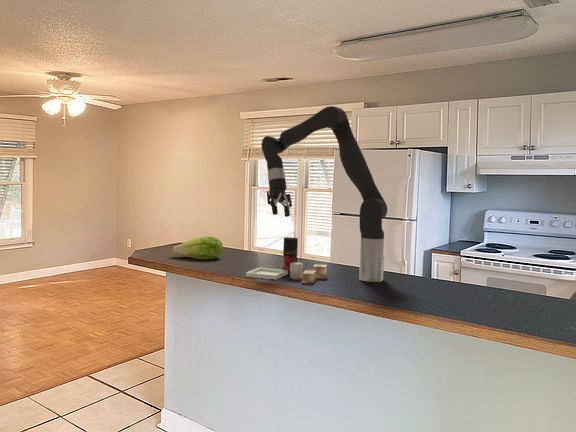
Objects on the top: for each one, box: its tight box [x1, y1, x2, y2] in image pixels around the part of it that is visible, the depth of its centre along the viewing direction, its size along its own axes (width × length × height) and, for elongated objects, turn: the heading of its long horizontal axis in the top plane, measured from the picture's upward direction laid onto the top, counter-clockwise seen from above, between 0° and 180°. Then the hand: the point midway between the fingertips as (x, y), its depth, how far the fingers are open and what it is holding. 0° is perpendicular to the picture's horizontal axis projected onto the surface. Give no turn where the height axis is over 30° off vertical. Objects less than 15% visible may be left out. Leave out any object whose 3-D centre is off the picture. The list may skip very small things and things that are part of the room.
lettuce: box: [172, 236, 224, 260], centre depth 238 cm, size 12×24×13 cm
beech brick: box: [301, 269, 317, 285], centre depth 190 cm, size 4×8×4 cm, turn 166°
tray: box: [245, 267, 289, 281], centre depth 198 cm, size 13×13×2 cm
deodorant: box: [282, 237, 299, 275], centre depth 205 cm, size 6×6×15 cm
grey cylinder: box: [289, 261, 304, 280], centre depth 195 cm, size 5×5×6 cm
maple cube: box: [312, 263, 328, 280], centre depth 199 cm, size 5×5×5 cm
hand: (281, 215), depth 210 cm, fingers open, 8 cm apart
